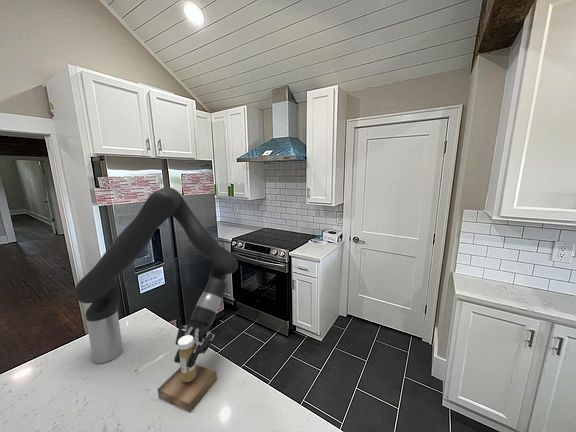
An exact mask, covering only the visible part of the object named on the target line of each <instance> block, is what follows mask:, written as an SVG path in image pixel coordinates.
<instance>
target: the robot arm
mask: <svg viewBox="0 0 576 432" xmlns="http://www.w3.org/2000/svg"><path fill="white" fill-rule="evenodd" d="M170 217H173V218H174V219H175V221H177V222H178V223H179V225H180V226H181V227H182V229H183V231H184V232H185V234H186V236H187V238H188V240H189V242H190V243H191V244H192V245H193V247H194V248H195V249H196V250H197V251H198V253H200V254H201V255H202V257H204V258H205V259H208V260H210V261H212V262H213V263H212V266H211V268H210V273H209V277H208V281H207V283H206V285H205V287H204V289H203V292H202V294H201V296H200V297H199V298H198V301H197V303H196V305H195V307H194V309H193V312H192V313H191V317H190V321H189V322H188V323H187V325H186V324H185V325H183V324H180V325H179V326H178V331H177V335H176V339H175V343H174V344H175V345H176V346H178V340H179V339H180V338H181V337H183V336H186V335H191V336H193V339H194V348H193V353H191V355H190V358H189V360H188V362H187V365H186V367H190V368H191V367H192V366H194V364H196V361H197V359H198V356H199V355H200V354H205V353H206V352H207V350H208V349H209V348H210V346H211V345H212V343H213V342H214V340H215V338H216V335H215V334H214V333H212V332H211V326H212V325H213V324H214V322H215V318H216V316H217V313H218V311H219V309H220V307H221V306H220V305H221V303H222V299H223V296H224V294H225V292H226V289H227V282H225V281H226V276H227V275H231V274H234V273H235V272H237V270H238V268H239V262H238V260H237V257H235V255H234V254H233V253H231V251H229V250H228V249H226V248H225V247H223V246H222V245H220V244H219V243H218V241H217V240H216V239H215V238H214V237H213V236H212V235H211V233H210V232H209V231H208V230H207V229H206V228H205V226H203V225H202V223H201V222H200V221H199V220H198V218H197V216H195V214H194V213H193V211H192V209H190V207H189V205H188V204H187V202H186V201H185V199H184V198H183V196H182V195H181V193H180V192H179V191H178V190H176V189H175V188H174V187H167V186H166V187H162V188H160V189H158V190H155V191H154V192H152V193H150V195H149V196H148V197H147V199H146V200H145V202H144V203H143V205H142V207H141V209H139V212H138V213H137V215H136V217H135V218H134V219H133V220H132V221H131V222H130V223H129V224H128V225H127V226H125V228H124V229H123V230H122V231H121V233H120V234H119V235H118V236H117V237H116V238H115V240H114V241H113V242H112V244H111V245H110V246H109V247H108V248H107V250H106V251H105V252H104V254H103V255H102V256H101V257H100V259H99V260H98V261H97V263H96V264H95V265H94V267H92V268H91V270H89V272H88V273H87V274H85V276H84V277H82V279H80V280H79V281H78V283H77V284H76V286H75V288H74V296H75V298H76V300H77V301H78V302H79V303H82V304H90V305H89V307H88V308H87V309H86V311H85V320H86V326H87V332H88V339H89V344H90V349H91V350H90V351H91V356H92V361H93V363H95V364H100V365H101V364H105V363H108V362H111V361H113V360H115V359H116V358H118V357H119V356H120V355H121V354H122V352H123V351H124V347H123V341H122V340H123V339H122V334H121V325H120V319H119V313H118V305H119V299H120V298H119V290H118V289H119V287H118V281H117V278H116V277H117V276H118V275H119V274H120V273H122V272H123V271H124V270H126V269H127V268H128V267H130V266H131V264H132V263H134V262H135V261H136V260H137V259H138V258H139V256H141V254H142V253H143V252H144V251H145V249H146V248H147V246H148V245H149V243H150V242H151V240H152V237H153V235H154V233H155V232H156V231H157V230H158V228H160V226H162V224H164V223H165V222H166V220H168V219H169V218H170ZM177 349H178V350H177V352H176V353H175V356H174V358H173V359H174V363H176V364H180V357H179V355H180V354H179V348H177Z"/></svg>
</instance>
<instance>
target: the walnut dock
mask: <svg viewBox="0 0 576 432" xmlns="http://www.w3.org/2000/svg"><path fill="white" fill-rule="evenodd" d="M195 364H196V363H195ZM196 372H197V374H196V377H195V378H194V379H193V380H191V381H189V382H184V381H183V380H182V372H181V366H180V367H178V368H177V370H176V371H174V373H172V375H171V376H169V377H168V378H167V380H165V381H164V382H163V383H162V384H161V385H160V386H159V387H158V388H157V394H158V399H161V400H162V401H165V402H166V403H169V404H171V405H173V406H176V407H178V408H180V409H182V410H184V411H186V412H188V413H192V411H193V410H194V409H195V408H196V406H197V405H198V404H199V403H200V401H201V400H202V399H203V398H204V396H205V395H206V394H207V393H208V392H209V390H210V389H211V388H212V386H213V385H214V384H215V383H216V381H218V375H217V374H218V373H217V371H215V370H213V369H210V368H207V367H204V366H202V365H199V364H196Z"/></svg>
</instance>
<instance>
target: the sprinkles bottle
mask: <svg viewBox="0 0 576 432" xmlns="http://www.w3.org/2000/svg"><path fill="white" fill-rule="evenodd" d="M185 335H186V334H185ZM193 348H194V339H193V336H191V335H186V336H183V337H181V338H180V339H179V340H178V345H177V349H179V354H180V355H179V357H180V363H179V365H180V367H181V372H182V380H183V381H184V382H189V381H191V380H193V379H194V378H195V377H196V374H197V372H196V363H195V364H194V366H192V367H191V368H190V367H186V365H187V362H188V360H189V358H190V355H191V353H193Z"/></svg>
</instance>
